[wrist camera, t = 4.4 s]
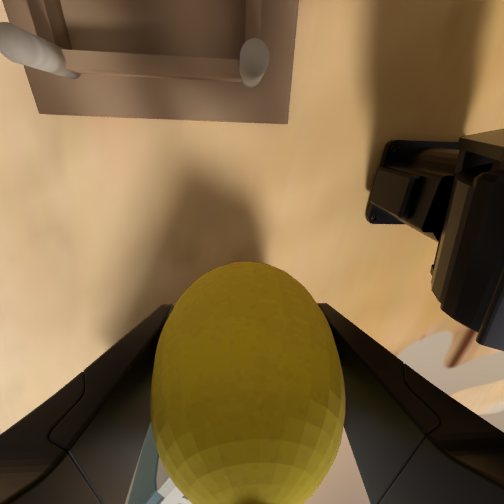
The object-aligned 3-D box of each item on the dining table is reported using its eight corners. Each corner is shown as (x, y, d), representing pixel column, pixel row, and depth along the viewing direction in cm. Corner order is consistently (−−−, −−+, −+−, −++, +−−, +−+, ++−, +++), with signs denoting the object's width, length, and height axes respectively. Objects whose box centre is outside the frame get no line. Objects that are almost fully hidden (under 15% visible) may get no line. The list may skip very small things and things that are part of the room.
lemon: (206, 335, 13) (166, 600, 6) (165, 245, 10) (-5, 519, 3) (308, 314, 12) (405, 565, 5) (293, 215, 10) (441, 443, 3)
